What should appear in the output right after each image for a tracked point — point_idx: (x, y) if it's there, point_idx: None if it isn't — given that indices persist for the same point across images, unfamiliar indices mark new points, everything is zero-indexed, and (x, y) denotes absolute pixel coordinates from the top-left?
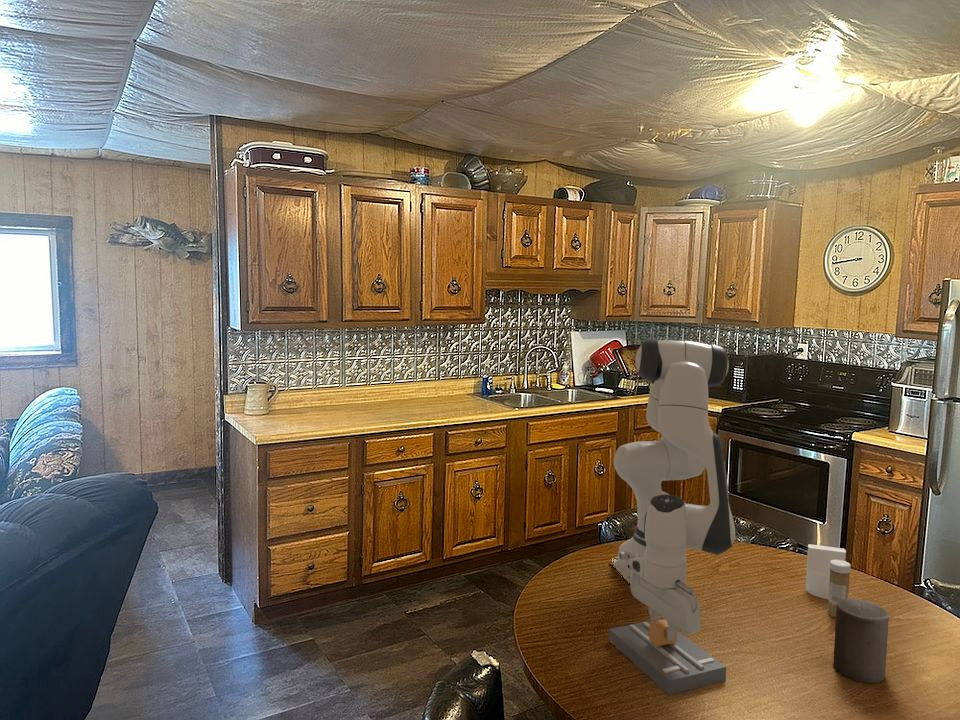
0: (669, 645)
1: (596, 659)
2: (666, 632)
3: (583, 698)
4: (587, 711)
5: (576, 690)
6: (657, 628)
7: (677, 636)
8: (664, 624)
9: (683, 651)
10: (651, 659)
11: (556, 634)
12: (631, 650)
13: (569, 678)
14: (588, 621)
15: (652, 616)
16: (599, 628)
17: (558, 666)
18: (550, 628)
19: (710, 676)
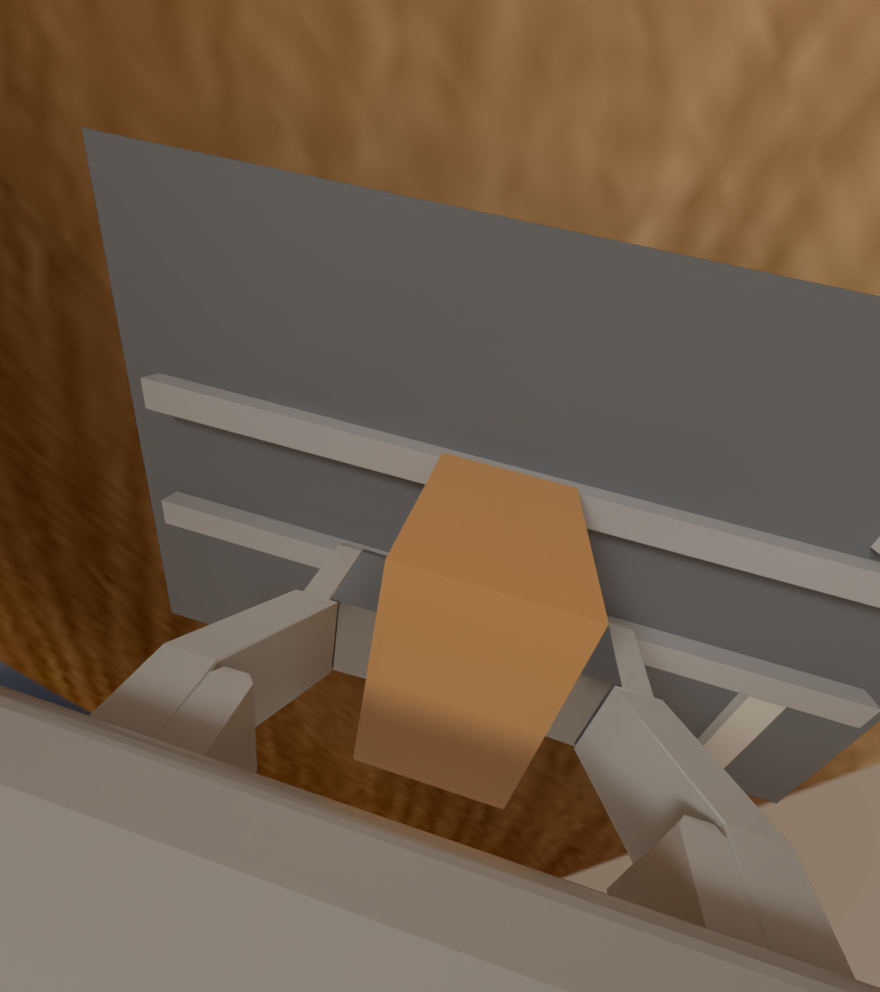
0: None
1: (333, 693)
2: (571, 732)
3: (500, 849)
4: None
5: (455, 833)
6: (496, 804)
7: (454, 299)
8: (485, 722)
9: (701, 540)
10: None
11: (120, 658)
12: None
13: (390, 805)
14: (21, 493)
15: (280, 706)
16: (95, 503)
17: (316, 780)
18: (73, 643)
19: None
